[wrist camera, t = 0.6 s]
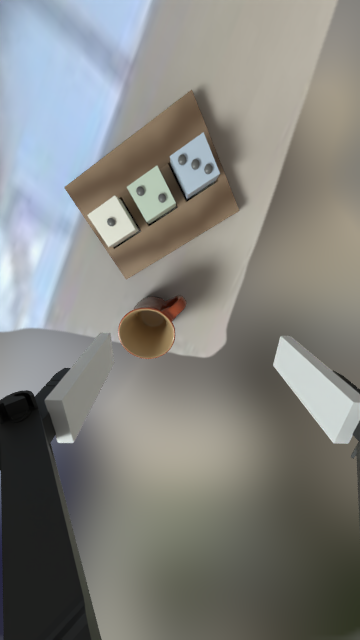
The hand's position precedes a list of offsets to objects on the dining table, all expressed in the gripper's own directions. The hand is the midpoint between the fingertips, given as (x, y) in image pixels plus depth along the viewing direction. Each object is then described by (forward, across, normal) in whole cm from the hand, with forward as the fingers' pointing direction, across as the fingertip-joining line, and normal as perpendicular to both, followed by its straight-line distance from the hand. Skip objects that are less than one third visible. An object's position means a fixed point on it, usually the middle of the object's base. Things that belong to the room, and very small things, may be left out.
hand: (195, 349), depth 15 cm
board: (+24, -5, +14) cm, 28 cm away
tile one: (+22, -11, +10) cm, 27 cm away
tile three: (+22, +1, +17) cm, 28 cm away
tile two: (+22, -5, +14) cm, 26 cm away
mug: (+24, -5, -5) cm, 25 cm away
